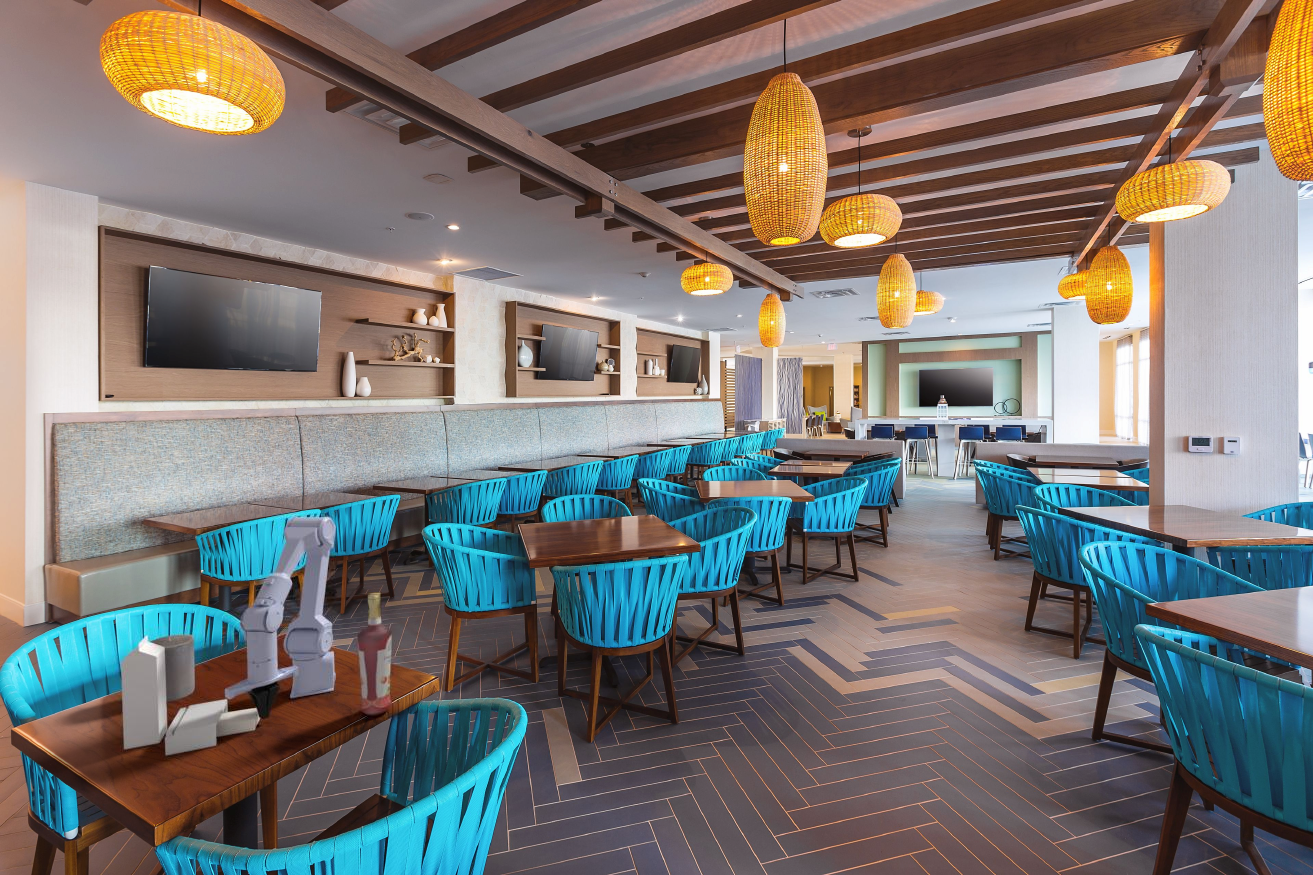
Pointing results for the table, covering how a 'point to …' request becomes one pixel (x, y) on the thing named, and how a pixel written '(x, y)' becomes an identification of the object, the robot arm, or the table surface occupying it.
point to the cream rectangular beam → (237, 722)
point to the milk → (144, 695)
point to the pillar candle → (178, 665)
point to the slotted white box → (194, 727)
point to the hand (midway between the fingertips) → (264, 717)
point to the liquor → (375, 661)
